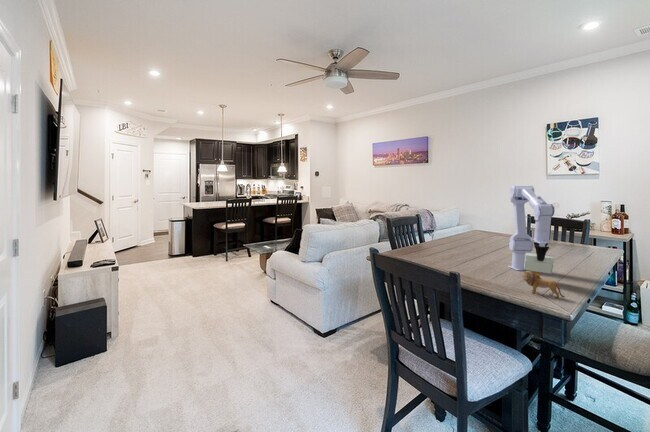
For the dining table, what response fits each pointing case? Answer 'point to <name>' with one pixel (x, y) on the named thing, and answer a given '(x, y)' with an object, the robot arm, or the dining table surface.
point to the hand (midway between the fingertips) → (539, 259)
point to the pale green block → (538, 263)
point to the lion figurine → (541, 283)
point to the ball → (536, 273)
